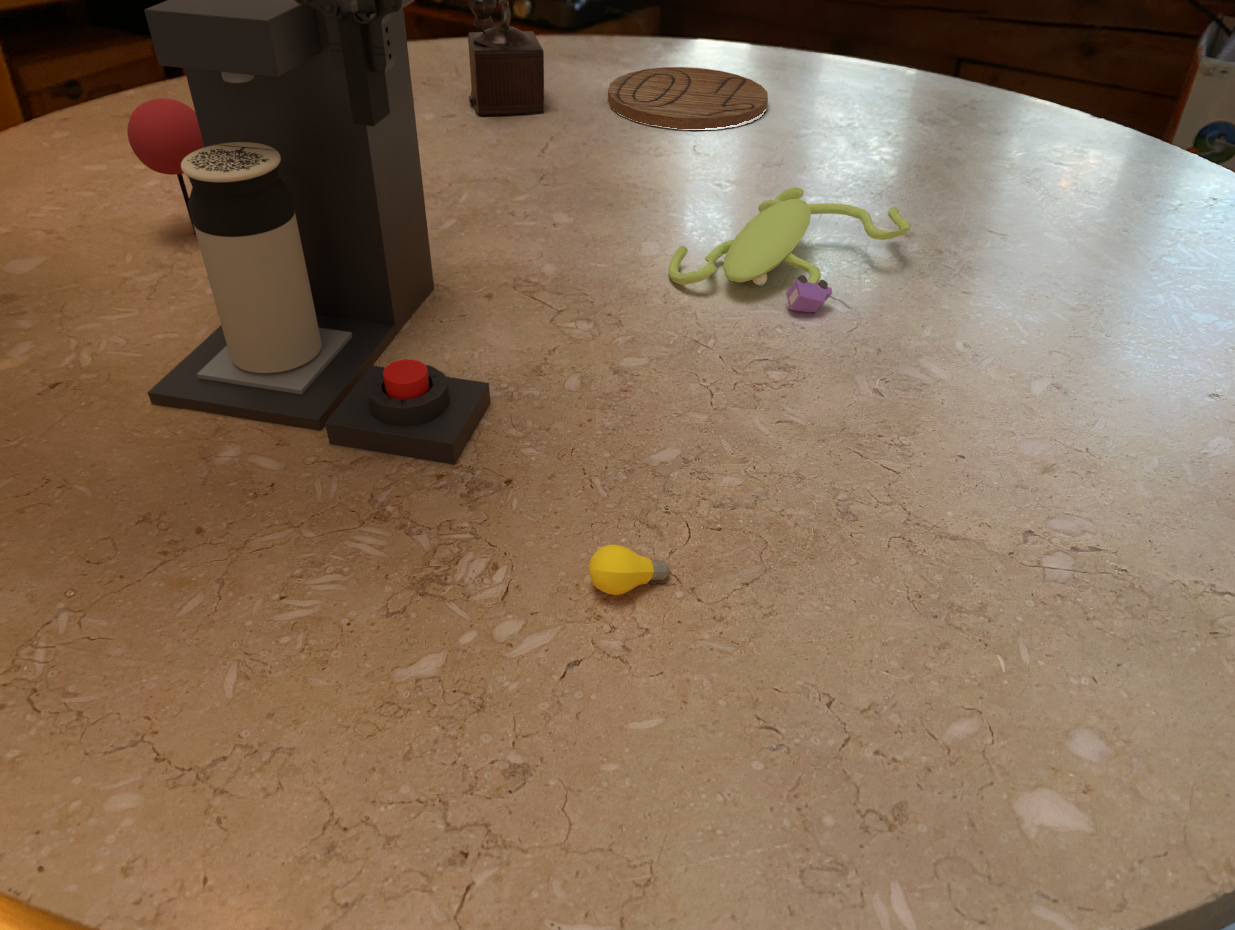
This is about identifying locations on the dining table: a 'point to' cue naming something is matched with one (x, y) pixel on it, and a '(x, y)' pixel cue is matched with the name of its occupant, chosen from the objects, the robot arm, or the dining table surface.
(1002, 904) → the dining table surface
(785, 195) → the figurine
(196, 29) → the coffee maker
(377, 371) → the panel
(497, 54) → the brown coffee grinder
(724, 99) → the trivet
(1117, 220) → the dining table surface
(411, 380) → the button
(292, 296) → the travel mug
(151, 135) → the lollipop
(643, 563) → the light bulb
